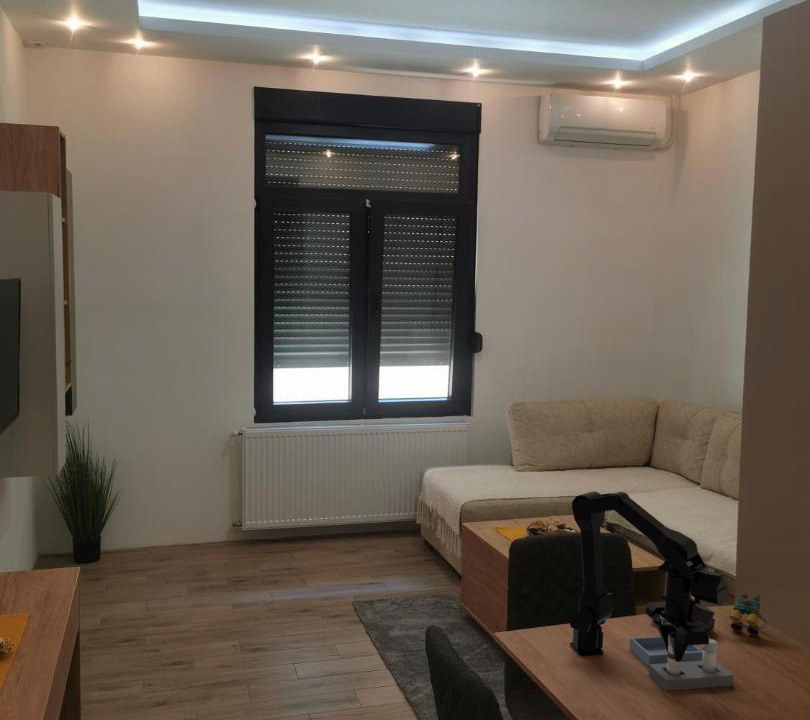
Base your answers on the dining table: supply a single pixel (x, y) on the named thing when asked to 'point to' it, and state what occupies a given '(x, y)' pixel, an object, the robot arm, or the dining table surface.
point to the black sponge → (701, 624)
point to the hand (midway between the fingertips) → (674, 658)
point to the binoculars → (752, 611)
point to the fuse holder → (690, 676)
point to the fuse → (709, 656)
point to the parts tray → (659, 650)
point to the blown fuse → (672, 661)
